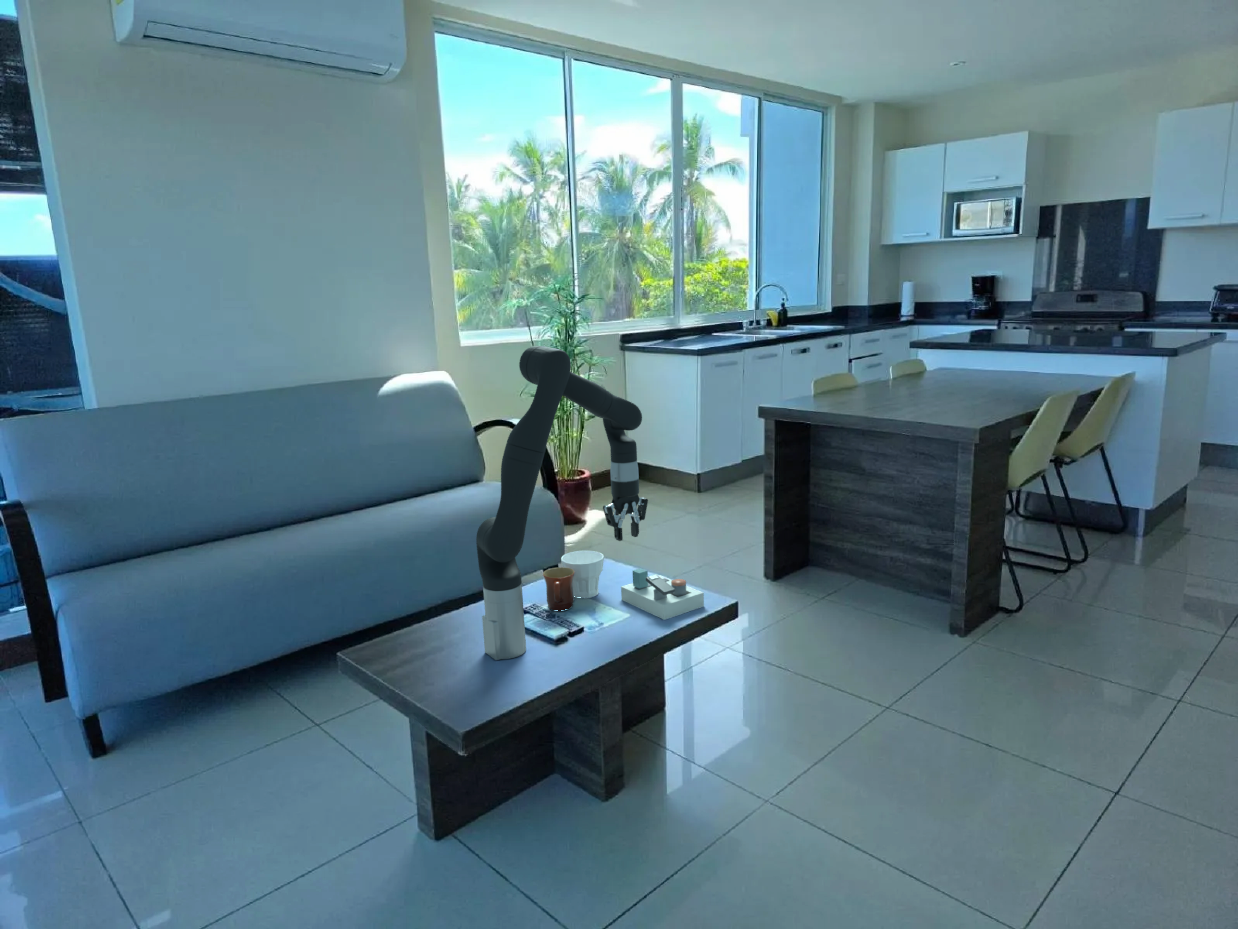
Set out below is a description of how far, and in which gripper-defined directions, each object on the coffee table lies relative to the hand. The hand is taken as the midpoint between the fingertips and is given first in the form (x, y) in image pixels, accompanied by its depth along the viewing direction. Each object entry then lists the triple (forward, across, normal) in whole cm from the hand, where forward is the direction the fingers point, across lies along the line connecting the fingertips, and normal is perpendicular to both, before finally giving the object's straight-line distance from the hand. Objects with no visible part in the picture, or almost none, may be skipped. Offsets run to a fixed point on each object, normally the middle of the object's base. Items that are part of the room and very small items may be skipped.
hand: (627, 538), depth 215 cm
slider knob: (+15, +4, 0) cm, 15 cm away
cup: (+20, -4, +16) cm, 26 cm away
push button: (+17, +10, -10) cm, 22 cm away
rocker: (+11, +3, -10) cm, 15 cm away
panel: (+19, +8, -5) cm, 21 cm away
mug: (+20, -16, +10) cm, 27 cm away
